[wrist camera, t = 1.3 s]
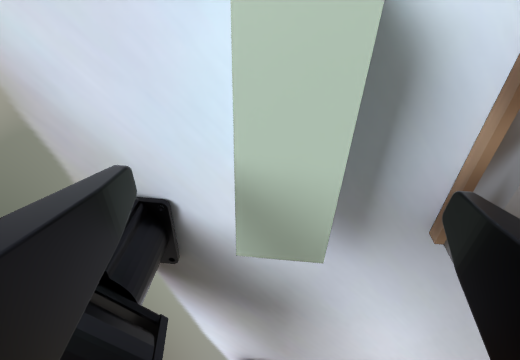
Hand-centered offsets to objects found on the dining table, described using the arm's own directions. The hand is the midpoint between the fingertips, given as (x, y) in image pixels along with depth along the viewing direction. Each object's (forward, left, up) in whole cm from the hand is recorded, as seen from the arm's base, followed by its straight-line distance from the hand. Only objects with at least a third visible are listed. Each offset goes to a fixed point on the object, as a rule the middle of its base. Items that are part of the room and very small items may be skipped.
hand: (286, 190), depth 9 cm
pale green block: (0, 0, -10) cm, 10 cm away
